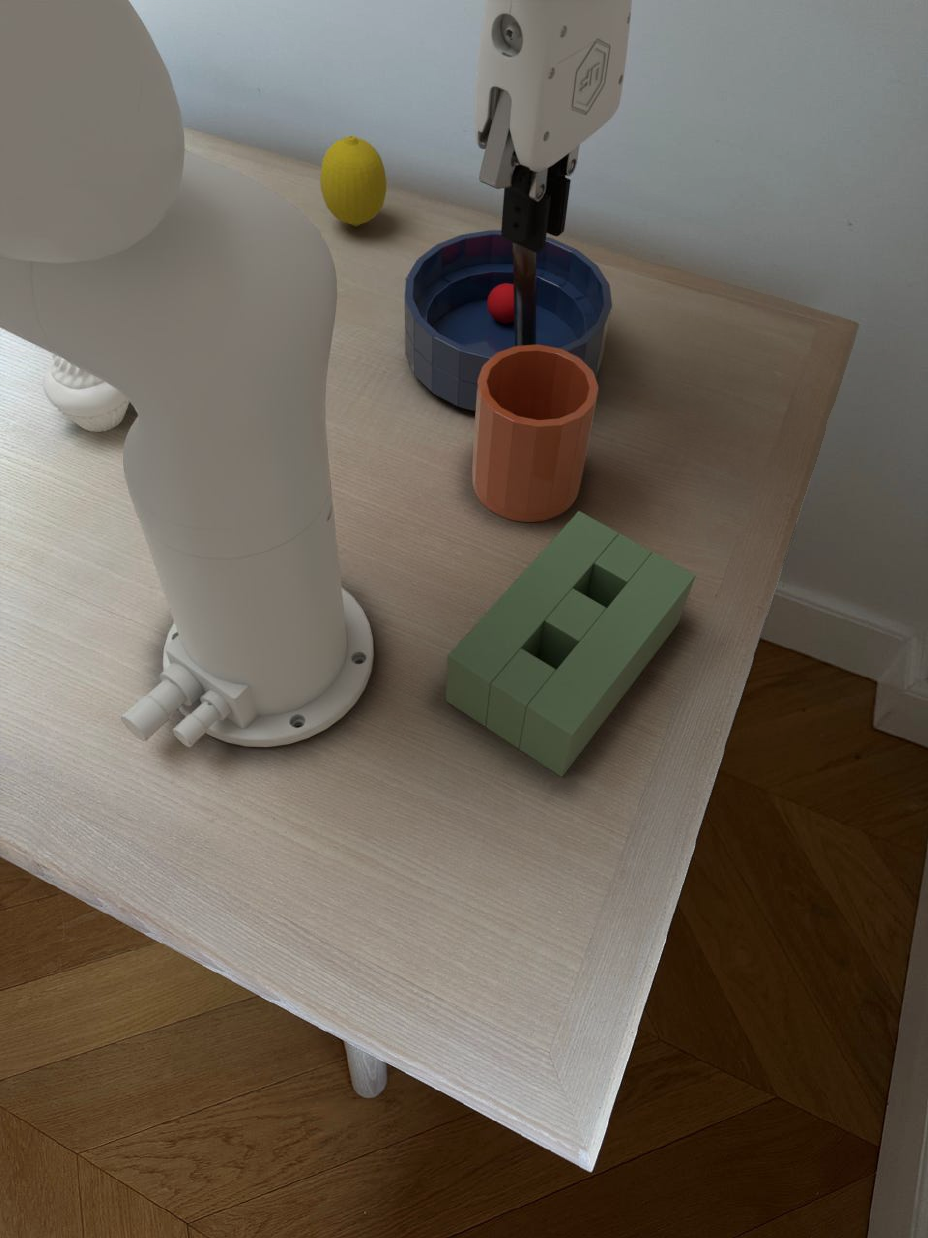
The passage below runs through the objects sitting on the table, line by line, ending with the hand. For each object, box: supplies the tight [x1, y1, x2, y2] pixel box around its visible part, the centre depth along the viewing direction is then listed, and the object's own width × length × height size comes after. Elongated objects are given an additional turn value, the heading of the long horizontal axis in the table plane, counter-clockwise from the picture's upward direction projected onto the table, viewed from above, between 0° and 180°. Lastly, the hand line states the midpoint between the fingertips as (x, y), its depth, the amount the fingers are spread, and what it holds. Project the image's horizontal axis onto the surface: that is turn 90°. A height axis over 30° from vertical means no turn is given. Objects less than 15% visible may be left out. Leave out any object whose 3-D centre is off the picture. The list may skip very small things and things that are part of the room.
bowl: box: [404, 229, 613, 412], centre depth 77 cm, size 15×15×6 cm
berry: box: [487, 283, 514, 323], centre depth 79 cm, size 3×3×3 cm
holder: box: [445, 510, 696, 778], centre depth 61 cm, size 8×14×5 cm, turn 144°
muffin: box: [42, 353, 130, 433], centre depth 71 cm, size 6×6×7 cm
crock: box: [471, 345, 599, 523], centre depth 68 cm, size 8×8×9 cm
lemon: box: [319, 135, 387, 227], centre depth 85 cm, size 6×6×8 cm
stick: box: [513, 160, 536, 346], centre depth 70 cm, size 2×2×16 cm
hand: (532, 233), depth 68 cm, fingers closed on stick, 1 cm apart
